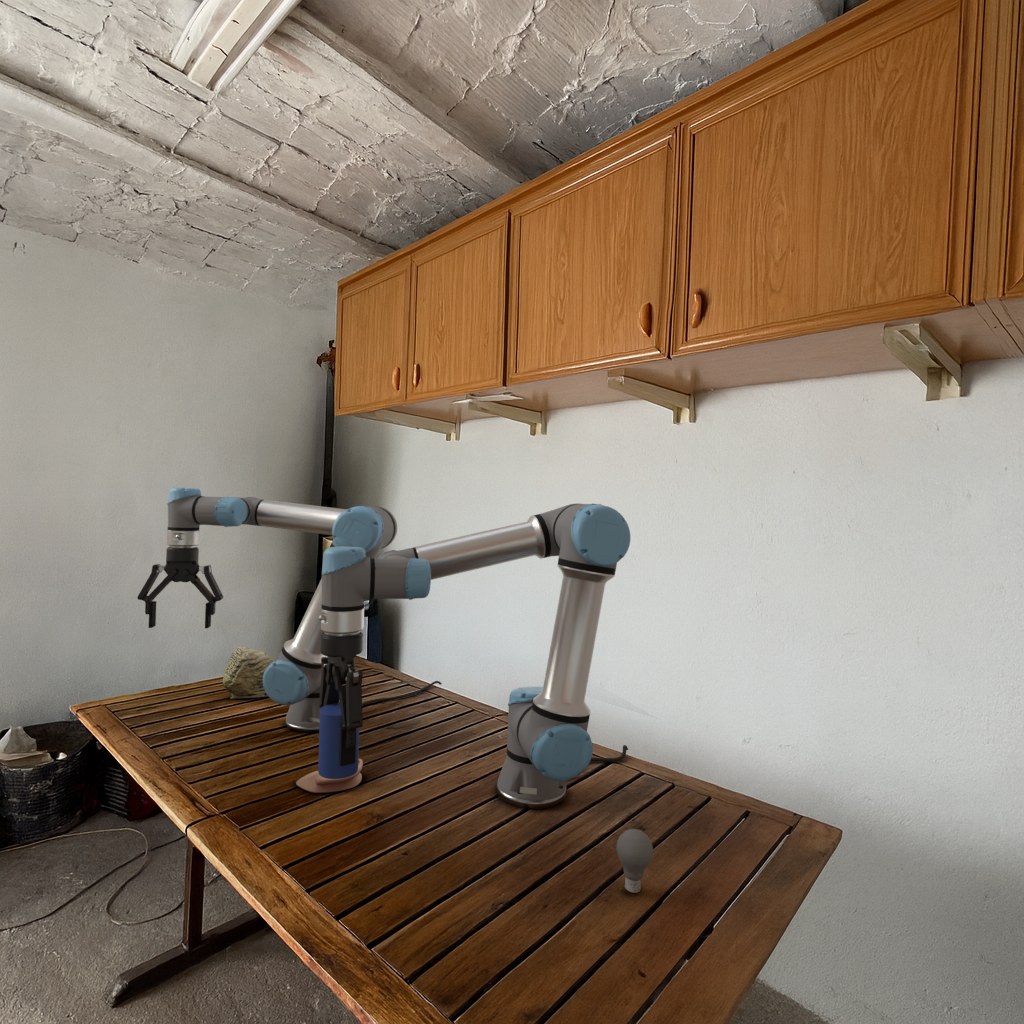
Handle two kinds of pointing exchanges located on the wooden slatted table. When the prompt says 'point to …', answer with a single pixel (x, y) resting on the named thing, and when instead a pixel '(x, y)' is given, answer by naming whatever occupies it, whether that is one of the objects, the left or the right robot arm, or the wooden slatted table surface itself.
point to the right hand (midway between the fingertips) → (338, 756)
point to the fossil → (246, 673)
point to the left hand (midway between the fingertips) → (180, 627)
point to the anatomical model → (329, 782)
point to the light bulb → (634, 857)
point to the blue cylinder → (333, 744)
